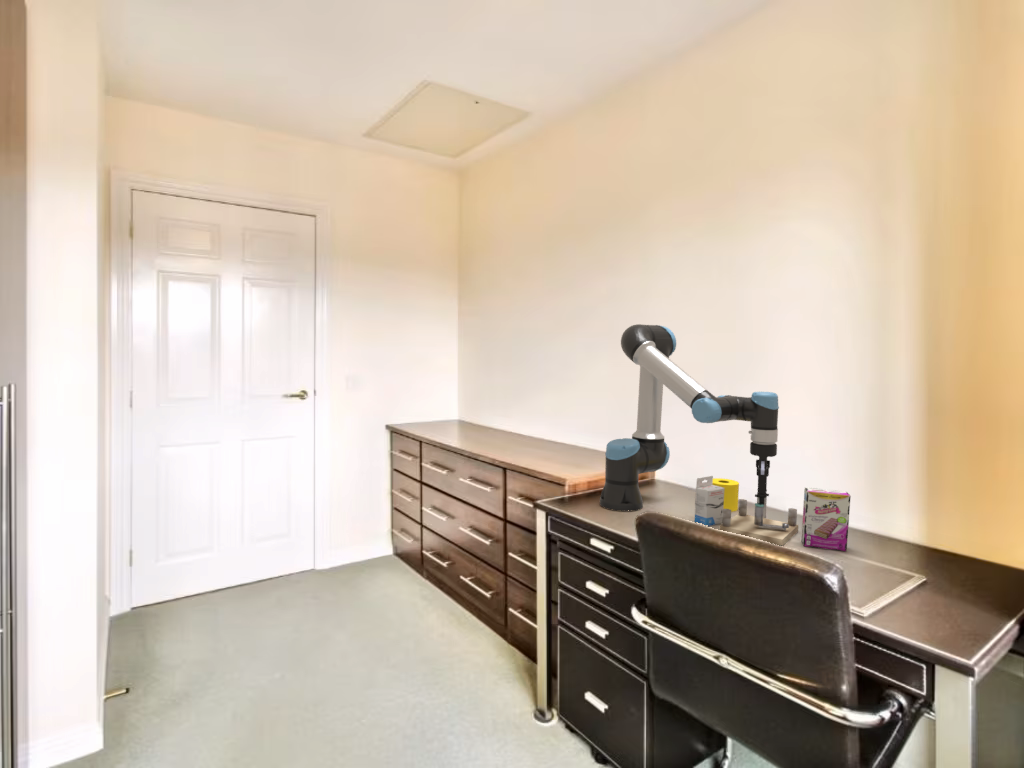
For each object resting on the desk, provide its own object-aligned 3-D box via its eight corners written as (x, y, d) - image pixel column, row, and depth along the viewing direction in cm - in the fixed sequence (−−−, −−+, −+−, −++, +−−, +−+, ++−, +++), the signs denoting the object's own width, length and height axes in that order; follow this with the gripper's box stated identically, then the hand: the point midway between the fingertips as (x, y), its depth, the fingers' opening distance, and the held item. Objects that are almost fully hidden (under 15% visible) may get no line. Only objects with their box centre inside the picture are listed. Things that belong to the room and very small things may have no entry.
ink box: (706, 527, 177) (708, 481, 176) (693, 523, 181) (695, 478, 180) (723, 522, 181) (725, 478, 180) (710, 518, 186) (712, 475, 185)
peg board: (719, 532, 172) (720, 509, 171) (739, 519, 186) (739, 498, 185) (782, 546, 160) (783, 522, 160) (798, 531, 174) (799, 509, 174)
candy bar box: (803, 547, 160) (806, 490, 159) (800, 541, 165) (803, 486, 164) (848, 552, 156) (851, 494, 155) (843, 546, 161) (847, 490, 160)
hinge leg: (788, 528, 169) (789, 505, 168) (789, 530, 166) (790, 508, 166) (753, 524, 172) (754, 502, 171) (754, 527, 170) (755, 504, 169)
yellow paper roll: (738, 513, 193) (739, 486, 192) (708, 510, 196) (709, 483, 195) (736, 505, 202) (737, 479, 202) (707, 502, 205) (708, 477, 205)
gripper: (751, 437, 179) (748, 509, 181) (749, 444, 167) (747, 521, 169) (776, 439, 176) (774, 512, 177) (777, 446, 164) (774, 525, 166)
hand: (761, 517), depth 173 cm, fingers closed
